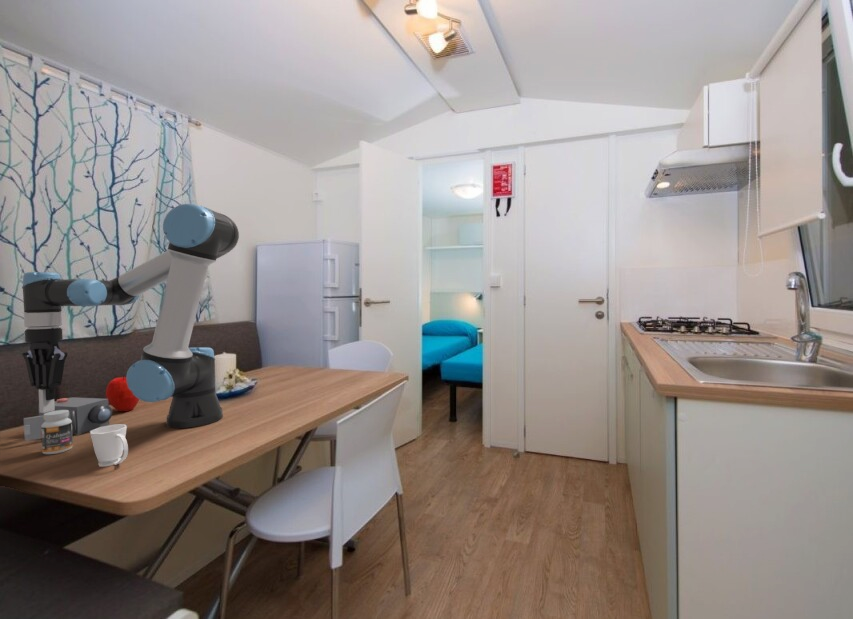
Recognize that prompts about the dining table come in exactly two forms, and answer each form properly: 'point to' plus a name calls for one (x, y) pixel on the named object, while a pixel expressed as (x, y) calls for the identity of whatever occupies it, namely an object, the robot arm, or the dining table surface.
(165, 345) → the robot arm
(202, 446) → the dining table surface
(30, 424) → the side door
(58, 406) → the camera body
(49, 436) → the pill bottle
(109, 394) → the apple
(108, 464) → the cup
